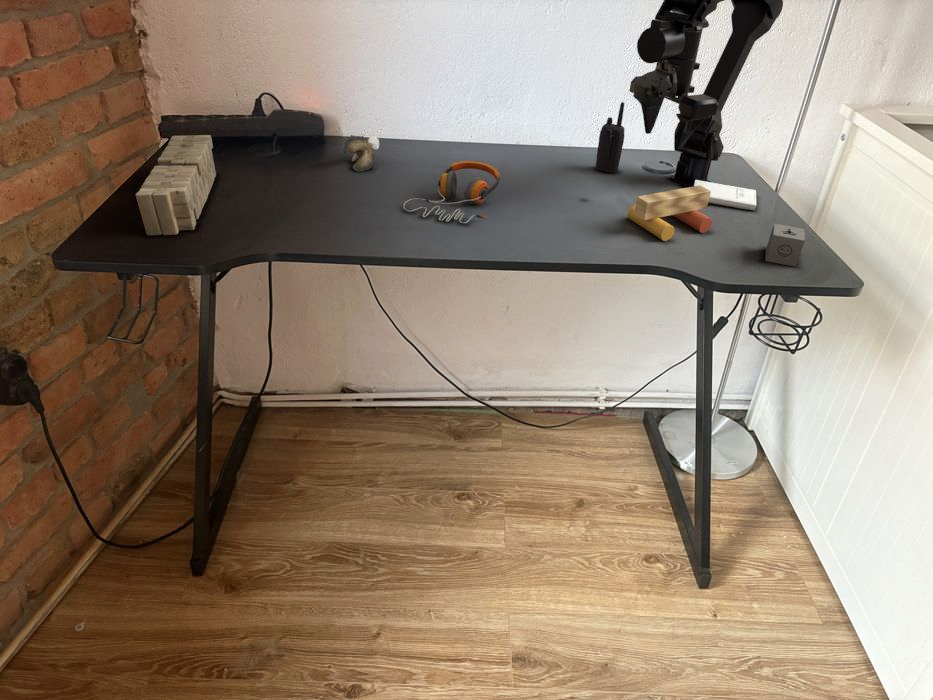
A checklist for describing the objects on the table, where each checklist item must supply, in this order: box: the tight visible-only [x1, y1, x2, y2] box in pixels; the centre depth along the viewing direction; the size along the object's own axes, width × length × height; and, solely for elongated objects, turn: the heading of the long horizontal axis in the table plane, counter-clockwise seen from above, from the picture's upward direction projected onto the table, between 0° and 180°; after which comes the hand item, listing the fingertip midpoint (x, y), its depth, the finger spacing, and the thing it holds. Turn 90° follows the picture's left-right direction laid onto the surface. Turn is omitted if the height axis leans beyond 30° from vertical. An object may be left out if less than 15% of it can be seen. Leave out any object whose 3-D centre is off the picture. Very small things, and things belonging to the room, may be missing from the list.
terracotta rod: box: [672, 210, 713, 234], centre depth 131 cm, size 3×10×3 cm, turn 26°
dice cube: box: [764, 223, 806, 267], centre depth 120 cm, size 5×5×5 cm
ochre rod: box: [627, 204, 675, 242], centre depth 128 cm, size 3×10×3 cm, turn 26°
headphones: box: [402, 160, 501, 224], centre depth 134 cm, size 17×5×20 cm
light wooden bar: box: [634, 185, 711, 220], centre depth 127 cm, size 15×3×4 cm, turn 116°
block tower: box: [135, 134, 217, 236], centre depth 128 cm, size 8×8×29 cm
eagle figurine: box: [341, 134, 380, 172], centre depth 149 cm, size 8×7×9 cm
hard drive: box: [694, 180, 757, 211], centre depth 141 cm, size 2×8×12 cm
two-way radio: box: [595, 101, 625, 174], centre depth 148 cm, size 6×4×15 cm
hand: (662, 140), depth 134 cm, fingers open, 9 cm apart
